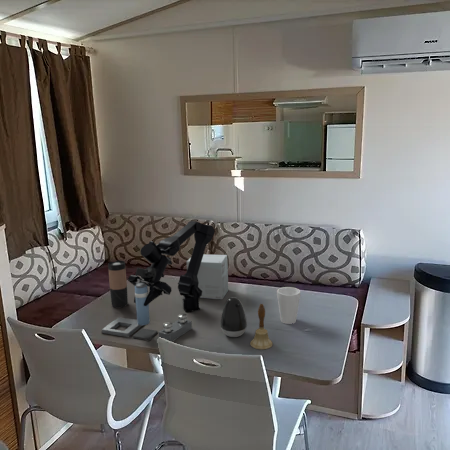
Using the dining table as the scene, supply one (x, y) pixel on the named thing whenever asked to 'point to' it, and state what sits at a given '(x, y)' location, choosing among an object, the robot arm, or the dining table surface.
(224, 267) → the supplement box
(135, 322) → the socket plate
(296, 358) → the dining table surface
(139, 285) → the cartridge
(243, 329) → the dark egg shaped device
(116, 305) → the travel mug
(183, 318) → the plunger
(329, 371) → the dining table surface
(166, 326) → the plunger
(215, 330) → the dining table surface
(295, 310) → the foam cup
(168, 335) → the bar
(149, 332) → the mat
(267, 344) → the hand bell
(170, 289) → the robot arm
